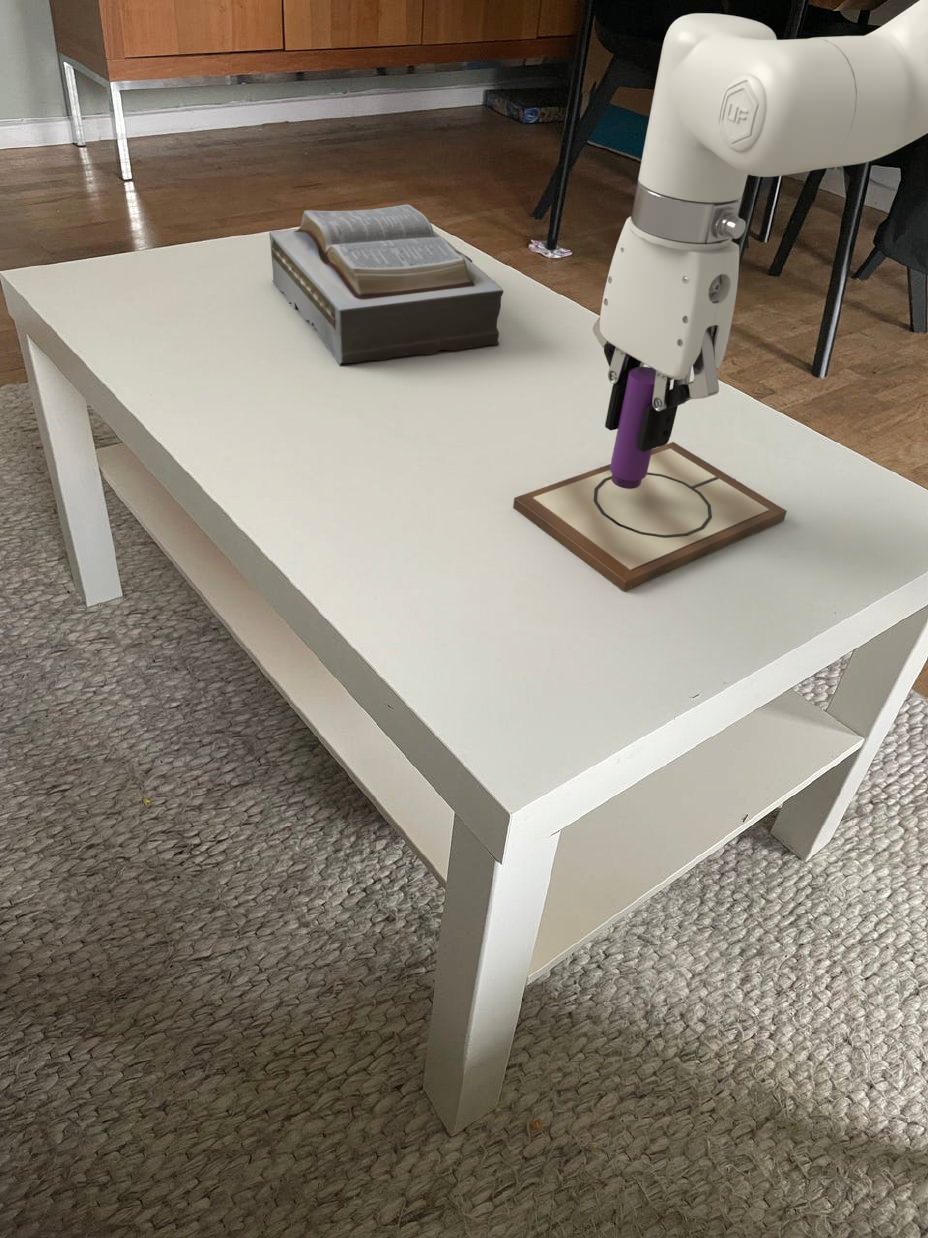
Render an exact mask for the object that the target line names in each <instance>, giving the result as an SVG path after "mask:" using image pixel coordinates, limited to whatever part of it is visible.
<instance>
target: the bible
mask: <svg viewBox="0 0 928 1238" xmlns="http://www.w3.org/2000/svg"><path fill="white" fill-rule="evenodd" d="M268 234H269V241H270V256H271V257H270V258H271V266H272V283H273V284H274V285H275V287H276V288H277V289H278V290H279V291H280V292H282V293H283V294H284V295H285V299H286V300H287V303H288V304H291V306H292V307H293V309H295V308H296V307H297V309H298V311H299V313H300V315H301V317H302V319H304V320H305V321H308V322H309V325H310V326H312V325H314V328H315V329H316V332H317V334H318V335H319V336H320V340H321V341H322V342H323V343H324V345H325V347H326V348H327V349H328V351H329V352H330V353H331V355H332V357H333V358H335V360H336V361H337V364H338V366H339V367H340V366H341V364H352V363H354V364H357V363H360V362H365V361H372V360H373V361H374V360H375V361H385V360H386V361H387V360H389V359H391V358H399V357H400V358H401V357H406V356H409V357H410V356H415V355H435V354H438V353H439V352H438V351H442V350H446V351H462V350H465V349H471V348H472V349H475V348H479V347H483V346H490V345H495V344H497V345H499V344H500V341H499V337H500V332H499V330H498V319H499V316H500V312H501V306H502V297H503V294H504V289H503V288H502V287H501V286H500V285H499V284H497V282H496V281H495V280H493V279H492V278H491V277H490V276H489V275H487V274H486V273H485V272H484V271H483V270H482V269H480V267H479V266H477V265H476V264H475V263H473V261H474V260H472V259H471V258H470V257H468V256H467V255H465V254H464V253H462V252H461V251H460V250H458V249H457V248H456V247H454V246H453V245H452V244H451V243H450V242H449V241H448V240H446V239H445V238H444V237H443V236H441V235H440V234H438V233H437V231H435V230H434V228H433V226H432V224H431V221H430V220H429V219H428V218H427V216H426V215H425V214H424V213H422V212H421V211H419V210H417V209H416V208H415V207H414V206H412V205H410V204H402V205H395V206H389V207H388V206H387V207H382V208H373V209H360V210H359V209H358V210H357V209H355V210H312V209H307V210H304V211H303V214H302V218H301V223H300V226H299V228H291V229H284V230H271V231H269V232H268Z"/></svg>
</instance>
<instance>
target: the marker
mask: <svg viewBox="0 0 928 1238" xmlns="http://www.w3.org/2000/svg"><path fill="white" fill-rule="evenodd" d="M655 376H656V370H655V369H653V368H651V367H649V366H643V367H636V368H633V369H631V370H630V372H629V376H628V381H627V386H626V391H625V396H624V401H623V406H622V411H621V416H620V421H619V425H618V429H616V430H617V432H616V435H615V441H614V446H613V450H612V451H613V452H612V455H611V461H610V464H611V465H610V471H611V473H612V478H611V479H612V482H613V483H614V484H615V485H617V486H619V487H621V488H626V489H634V488H637V487H639V486H640V485H641V481H642V479H643V478H645V477H646V475H647V471H648V466H649V462H650V458H651V453H652V449H651V450H648V451H645V452H642V451H641V450H639V449H638V448H637V442H638V437H639V433H640V428H641V423H642V419H643V414H644V410H645V408H646V406H648V405H652V400H653V392H654V384H655Z"/></svg>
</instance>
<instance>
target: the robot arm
mask: <svg viewBox="0 0 928 1238" xmlns="http://www.w3.org/2000/svg"><path fill="white" fill-rule="evenodd" d="M656 74H657V75H656V79H655V86H654V92H653V96H652V102H651V108H650V113H649V119H648V124H647V128H646V129H647V130H646V135H645V140H644V145H643V151H642V157H641V162H640V166H639V167H640V168H639V173H638V178H637V183H636V188H635V193H634V199H633V205H632V210H631V215H630V216H629V217H627V218H626V221H625V223H624V225H623V227H622V229H621V232H620V236H619V238H618V240H617V243H616V247H615V250H614V253H613V256H612V259H611V263H610V267H609V271H608V275H607V279H606V282H605V287H604V291H603V296H602V302H601V306H600V316H599V317H598V318H597V320H596V322H595V323H594V324H593V326H592V333H593V335H594V337H595V338H596V339H597V341H598V343H599V344H600V346H601V347H602V348H603V353H604V357H605V359H606V362H607V365H608V372H607V379H608V381H609V382H610V383H611V384H612V386H611V392H610V397H609V403H608V407H607V412H606V418H605V423H604V427H605V428H606V429H608V430H609V431H615V430H618V425H619V421H620V416H621V411H622V406H623V401H624V396H625V391H626V386H627V381H628V376H629V372H630V370H631V369H633V368H636V367H645V365H646V366H647V367H650V368H653V369H655V370H656V376H655V384H654V392H653V400H652V405H648V406H646V408H645V410H644V414H643V419H642V423H641V428H640V433H639V437H638V442H637V448H638V449H639V450H641V451H642V452H645V451H648V450H651V449H654V448H657V447H660V446H663V445H666V444H669V441H670V439H671V436H672V432H673V428H674V424H675V419H676V415H677V412H678V408H679V406H681V405H684V404H685V403H686V402H688V401H690V400H698V399H699V400H700V399H706V398H709V397H712V396H716V395H718V394H719V392H720V384H719V378H718V371H717V370H718V369H719V368H720V367H721V366H722V364H723V362H724V361H723V360H724V358H725V354H726V350H727V347H728V342H729V338H730V333H731V328H732V324H733V323H732V322H733V317H734V312H735V305H736V299H737V292H738V282H739V271H740V270H739V269H740V245H739V244H737V243H736V242H734V241H732V239H734V240H737V239H740V238H741V237H742V236H743V234H744V232H745V230H746V228H747V224H746V220H744V219H743V218H740V216H739V212H740V208H741V204H742V199H743V194H744V191H745V187H746V183H747V180H748V176H749V175H750V176H754V177H758V178H761V177H763V178H771V177H773V178H774V177H780V176H788V175H794V174H800V173H807V172H812V171H817V170H822V169H830V168H838V167H846V166H853V165H861V164H866V163H870V162H873V161H875V160H878V159H880V158H883V157H885V156H887V155H889V154H892V153H895V152H896V151H898V150H899V149H901V148H903V147H905V146H907V145H908V144H910V143H912V142H914V141H916V140H918V139H920V138H922V137H923V136H925V135H927V134H928V0H918V1H917V2H915V3H913V4H912V5H911V6H910V7H908V8H907V9H905V10H904V11H902V12H901V13H899V14H898V15H897V16H895V17H893V18H892V19H891V20H889V21H888V22H886V23H885V24H883V25H881V26H880V27H878V28H877V29H875V30H873V31H871V32H869V33H867V34H865V35H844V36H843V35H842V36H819V37H817V36H816V37H810V38H796V39H795V38H794V39H778V38H777V35H776V33H775V32H774V31H773V29H772V28H770V26H768V25H766V24H764V23H762V22H759V21H757V20H754V19H751V18H747V17H742V16H736V15H730V14H722V13H708V12H707V13H705V12H704V13H703V12H702V13H701V12H698V13H697V12H695V13H689V14H686V15H682V16H680V17H678V18H677V19H675V20H674V21H673V22H672V23H671V24H670V26H669V27H668V29H667V31H666V34H665V37H664V40H663V43H662V48H661V53H660V58H659V64H658V70H657V73H656ZM692 370H693V371H692ZM692 372H693V381H691V376H692V375H691V374H692ZM672 380H673V384H671V383H672V382H671V381H672ZM671 385H672V388H671Z"/></svg>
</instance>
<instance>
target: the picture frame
mask: <svg viewBox="0 0 928 1238" xmlns="http://www.w3.org/2000/svg"><path fill="white" fill-rule="evenodd" d="M610 465H611V463H610V464H607V465H604V466H601V467H597V468H595V469H592V470H589V471H586V472H584V473H580V474H578V475H575V476H573V477H569V478H566V479H564V480H561V481H558V482H556V483H552V484H550V485H547V486H544V487H541V488H537V489H535V490H532V491H529V492H527V493H523V494H521V495H518V496H516V497H514V498H513V505H512V507H513V508H514V509H515V510H516V511H517V512H519V513H520V514H521V515H522V516H524V517H526V518H527V519H528V521H530V522H532V523H533V524H535V525H536V526H537V527H538V528H540V530H542V531H544V532H545V533H546V534H548V535H549V536H550V537H552V538H553V539H554V540H556V541H557V542H558V543H560V545H562V546H563V547H564V548H566V549H567V550H569V551H570V552H571V553H572V554H573V555H575V556H577V557H578V558H579V559H580V560H582V561H583V562H584V563H586V564H587V565H588V566H590V567H591V568H592V569H594V570H595V571H596V572H597V573H599V574H600V575H601V576H603V578H605V579H607V580H608V581H609V582H611V583H612V584H614V585H615V586H616V587H617V588H618V589H620V590H621V591H622V592H626V591H628V590H630V589H633V588H635V587H637V586H639V585H641V584H644V583H646V582H648V581H650V580H652V579H655V578H657V577H659V576H661V575H664V574H666V573H668V572H671V571H673V570H675V569H677V568H680V567H682V566H685V565H687V564H689V563H691V562H694V561H696V560H697V559H700V558H702V557H705V556H707V555H709V554H711V553H713V552H716V551H718V550H720V549H723V548H725V547H727V546H729V545H731V544H734V543H736V542H738V541H741V540H742V539H744V538H747V537H750V536H752V535H754V534H757V533H758V532H760V531H761V532H762V531H763V530H766V529H767V528H770V527H771V526H775V525H776V524H778V523H781V522H783V521H785V518H786V515H787V512H788V510H785V508H782V507H781V506H779V505H778V504H777V503H774V502H773V501H772V500H769V499H768V498H767V497H765V496H763V495H762V494H761V493H758V492H756V491H755V490H754V489H752V488H750V487H748V486H746V485H745V484H744V483H741V482H740V481H739V480H737V479H735V478H734V477H732V476H730V475H728V474H727V473H725V472H723V471H722V470H720V469H718V468H717V467H715V466H714V465H712V464H711V463H709V462H707V461H706V460H704V459H702V458H700V457H699V456H698V455H696V454H694V453H692V452H691V451H689V450H688V449H686V448H684V447H683V446H682V445H679V444H678V443H676V442H674V441H671V442H668V443H667V444H665V445H663V446H660V447H657V448H654V449H652V453H651V458H650V462H649V466H648V471H647V475H646V477H645V478H643V479H642V481H641V485H640V486H639V487H637V488H634V489H626V488H621V487H619V486H617V485H615V484H614V483H613V482H612V479H611V478H612V473H611V471H610Z"/></svg>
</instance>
